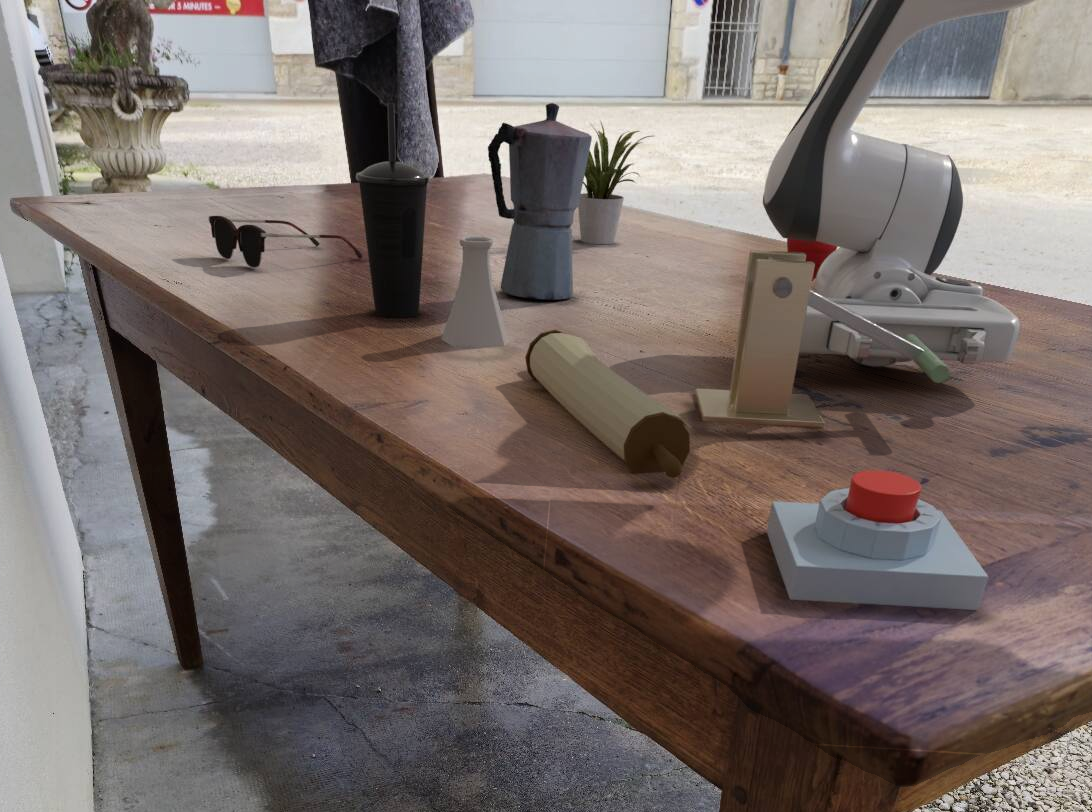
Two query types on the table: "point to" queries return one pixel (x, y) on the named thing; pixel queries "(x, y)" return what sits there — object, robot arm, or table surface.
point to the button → (883, 497)
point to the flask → (475, 301)
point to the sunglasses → (253, 238)
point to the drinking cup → (394, 230)
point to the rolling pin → (609, 405)
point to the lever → (883, 336)
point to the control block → (872, 557)
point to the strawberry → (811, 251)
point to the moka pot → (540, 203)
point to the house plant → (603, 191)
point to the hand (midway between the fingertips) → (918, 351)
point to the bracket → (767, 347)
